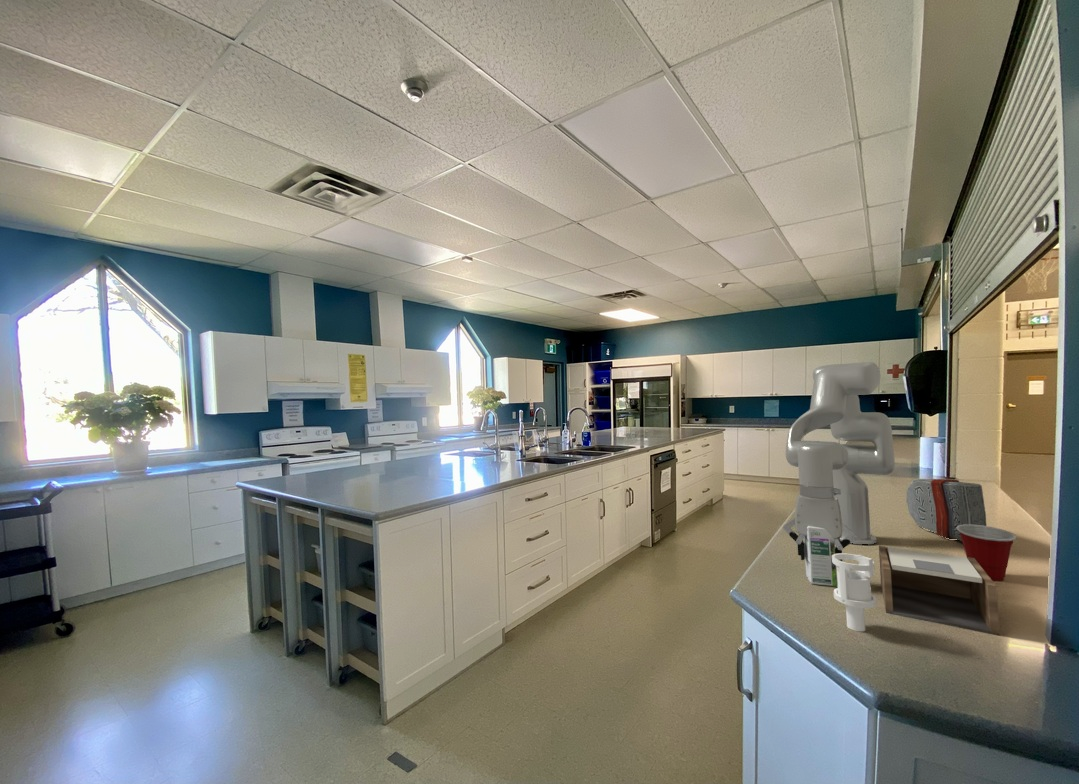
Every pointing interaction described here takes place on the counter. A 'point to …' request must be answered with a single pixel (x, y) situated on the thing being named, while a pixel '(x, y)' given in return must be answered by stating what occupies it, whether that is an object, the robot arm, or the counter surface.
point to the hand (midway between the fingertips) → (819, 560)
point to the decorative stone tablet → (945, 505)
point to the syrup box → (820, 557)
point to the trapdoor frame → (940, 597)
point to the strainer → (854, 588)
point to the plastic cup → (988, 548)
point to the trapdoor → (933, 564)
